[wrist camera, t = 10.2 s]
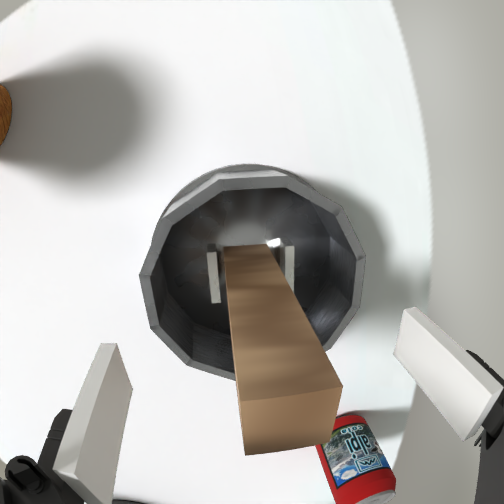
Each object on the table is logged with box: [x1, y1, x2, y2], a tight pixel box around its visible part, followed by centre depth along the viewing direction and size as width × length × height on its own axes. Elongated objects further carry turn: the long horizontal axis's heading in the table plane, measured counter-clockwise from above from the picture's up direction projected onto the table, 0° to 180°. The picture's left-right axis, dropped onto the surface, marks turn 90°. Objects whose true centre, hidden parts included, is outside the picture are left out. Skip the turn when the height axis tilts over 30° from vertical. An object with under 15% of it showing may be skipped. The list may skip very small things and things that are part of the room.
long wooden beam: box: [223, 244, 343, 456], centre depth 15 cm, size 3×3×14 cm
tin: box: [139, 164, 366, 381], centre depth 20 cm, size 14×14×5 cm
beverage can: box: [315, 415, 396, 504], centre depth 26 cm, size 7×7×12 cm
